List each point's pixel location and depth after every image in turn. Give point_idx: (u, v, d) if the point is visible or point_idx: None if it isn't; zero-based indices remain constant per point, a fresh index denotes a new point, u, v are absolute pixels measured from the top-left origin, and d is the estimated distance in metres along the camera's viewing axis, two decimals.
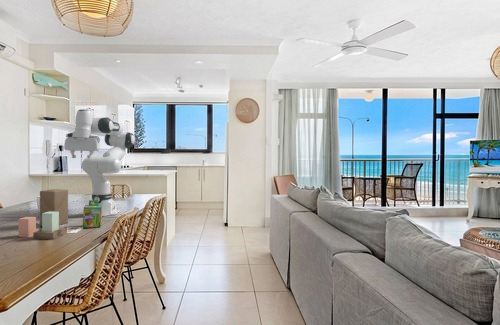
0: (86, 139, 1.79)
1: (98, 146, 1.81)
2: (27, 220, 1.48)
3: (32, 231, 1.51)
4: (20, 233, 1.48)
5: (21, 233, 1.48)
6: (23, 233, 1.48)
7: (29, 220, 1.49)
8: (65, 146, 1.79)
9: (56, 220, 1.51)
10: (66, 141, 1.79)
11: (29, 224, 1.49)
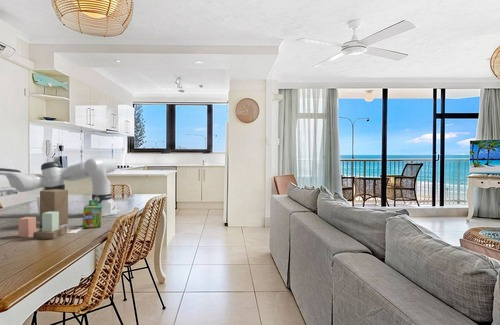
0: None
1: None
2: (27, 220, 1.48)
3: (32, 231, 1.51)
4: (20, 233, 1.48)
5: (21, 233, 1.48)
6: (23, 233, 1.48)
7: (29, 220, 1.49)
8: None
9: (56, 220, 1.51)
10: None
11: (29, 224, 1.49)
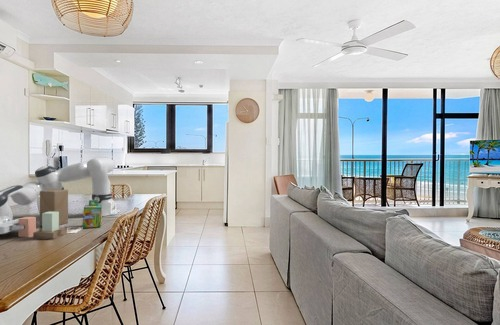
0: (13, 220, 1.54)
1: None
2: (27, 220, 1.48)
3: (32, 231, 1.51)
4: (20, 233, 1.48)
5: (21, 233, 1.48)
6: (23, 233, 1.48)
7: (29, 220, 1.49)
8: (0, 225, 1.42)
9: (56, 220, 1.51)
10: None
11: (29, 224, 1.49)
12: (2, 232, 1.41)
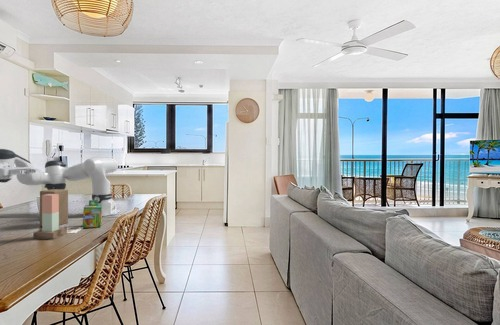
0: (12, 167, 1.60)
1: None
2: (51, 196, 1.47)
3: (55, 208, 1.50)
4: (43, 209, 1.48)
5: (44, 209, 1.48)
6: (47, 210, 1.47)
7: (52, 196, 1.48)
8: (0, 168, 1.47)
9: (56, 220, 1.51)
10: None
11: (52, 200, 1.48)
12: (2, 174, 1.46)
